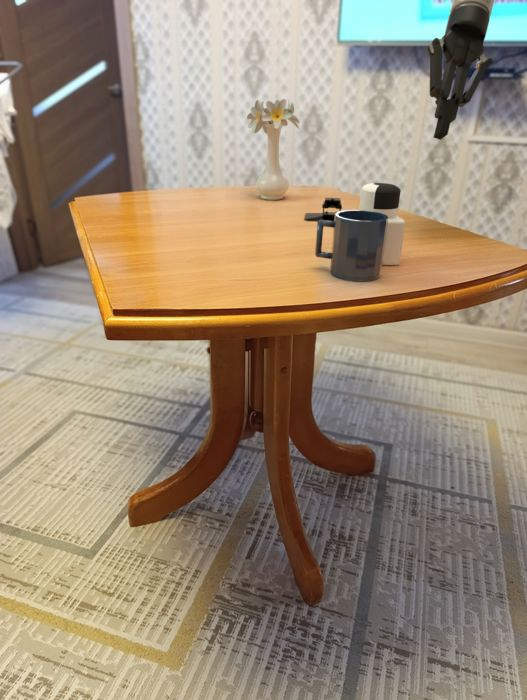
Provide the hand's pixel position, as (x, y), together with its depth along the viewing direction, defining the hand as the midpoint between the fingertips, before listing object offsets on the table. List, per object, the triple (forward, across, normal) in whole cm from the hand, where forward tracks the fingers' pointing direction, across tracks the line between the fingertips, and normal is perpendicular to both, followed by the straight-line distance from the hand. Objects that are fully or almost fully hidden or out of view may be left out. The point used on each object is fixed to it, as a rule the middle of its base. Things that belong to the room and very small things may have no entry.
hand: (440, 135), depth 97 cm
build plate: (+14, +11, -26) cm, 31 cm away
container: (+28, +9, +4) cm, 29 cm away
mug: (+32, +15, +10) cm, 37 cm away
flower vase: (+6, +24, -50) cm, 55 cm away
